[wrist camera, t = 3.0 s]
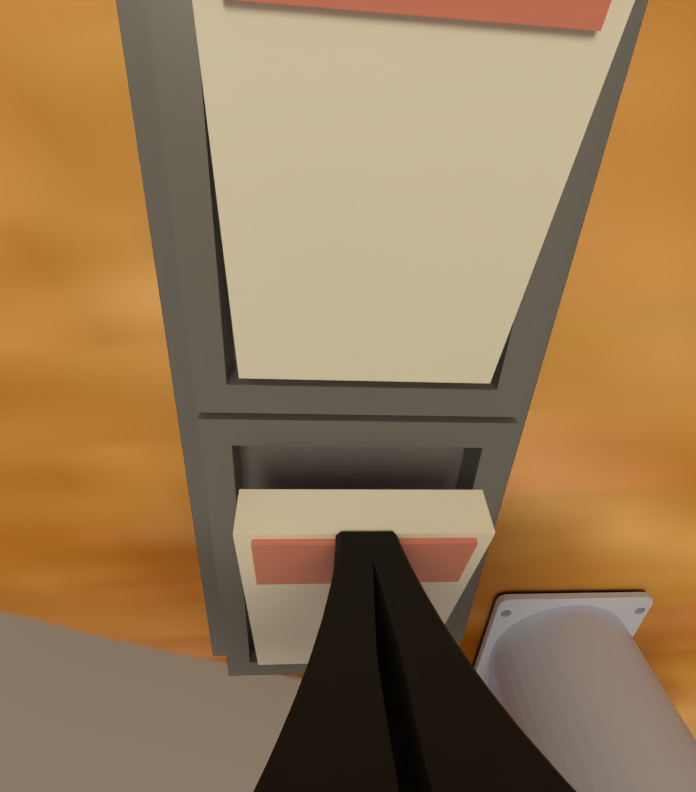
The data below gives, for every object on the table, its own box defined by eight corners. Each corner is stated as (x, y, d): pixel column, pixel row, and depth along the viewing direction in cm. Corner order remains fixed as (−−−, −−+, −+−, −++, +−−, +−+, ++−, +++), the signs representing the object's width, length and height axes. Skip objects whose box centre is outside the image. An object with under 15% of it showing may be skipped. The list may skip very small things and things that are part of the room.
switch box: (439, 578, 23) (467, 678, 18) (227, 581, 22) (207, 686, 18) (606, -152, 10) (792, -326, 6) (141, -206, 10) (16, -445, 6)
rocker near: (478, 352, 12) (492, 387, 11) (244, 346, 12) (237, 382, 11) (660, -198, 6) (726, -223, 5) (180, -259, 6) (151, -298, 5)
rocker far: (419, 625, 18) (425, 664, 17) (261, 629, 18) (257, 669, 17) (482, 489, 12) (497, 539, 11) (239, 489, 11) (231, 540, 10)
